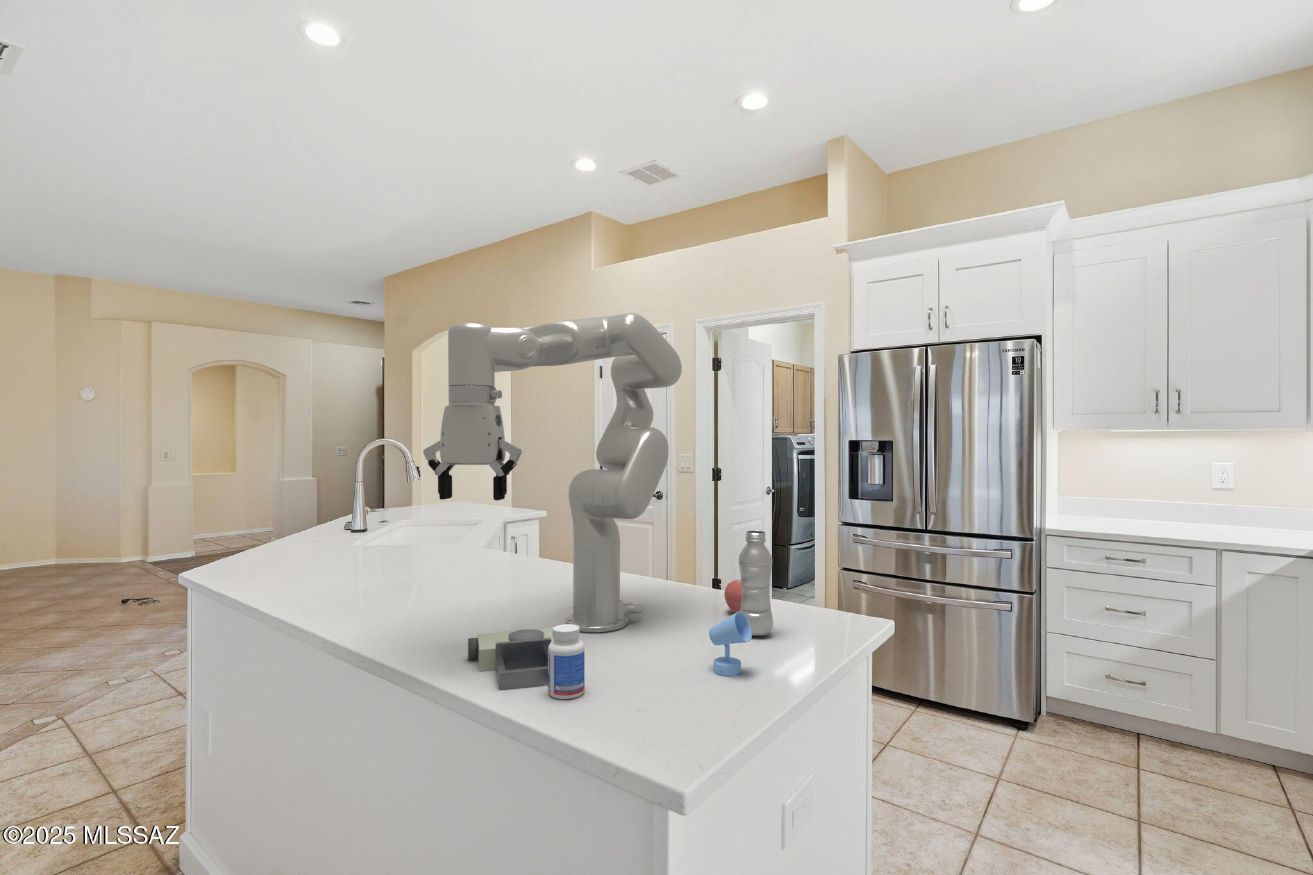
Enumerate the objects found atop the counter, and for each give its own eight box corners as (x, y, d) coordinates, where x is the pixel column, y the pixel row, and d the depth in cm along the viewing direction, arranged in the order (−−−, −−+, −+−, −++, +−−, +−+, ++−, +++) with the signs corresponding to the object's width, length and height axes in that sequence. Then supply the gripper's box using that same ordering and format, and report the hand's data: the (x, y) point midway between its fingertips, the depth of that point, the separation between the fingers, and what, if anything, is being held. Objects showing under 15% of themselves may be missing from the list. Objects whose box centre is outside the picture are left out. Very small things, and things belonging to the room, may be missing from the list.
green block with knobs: (565, 645, 120) (565, 623, 120) (574, 661, 111) (574, 637, 111) (467, 654, 115) (468, 631, 115) (469, 672, 106) (469, 647, 106)
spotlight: (755, 671, 107) (717, 663, 111) (755, 610, 107) (717, 604, 111) (742, 680, 103) (703, 672, 107) (743, 617, 103) (704, 610, 107)
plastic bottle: (765, 642, 123) (765, 535, 123) (732, 636, 126) (732, 532, 126) (778, 633, 128) (778, 531, 128) (746, 628, 132) (746, 528, 132)
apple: (735, 607, 148) (735, 572, 148) (764, 612, 144) (764, 576, 144) (718, 614, 142) (718, 577, 142) (748, 620, 138) (748, 582, 138)
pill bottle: (592, 692, 98) (592, 627, 98) (563, 703, 94) (564, 635, 94) (568, 683, 102) (568, 620, 102) (540, 693, 98) (540, 627, 98)
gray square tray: (550, 664, 110) (550, 637, 110) (558, 683, 102) (558, 654, 102) (495, 669, 108) (495, 642, 108) (499, 690, 99) (499, 660, 99)
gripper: (528, 398, 113) (529, 497, 113) (435, 399, 116) (436, 496, 116) (511, 395, 105) (511, 502, 105) (412, 397, 108) (413, 500, 108)
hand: (472, 499), depth 111 cm, fingers open, 9 cm apart
